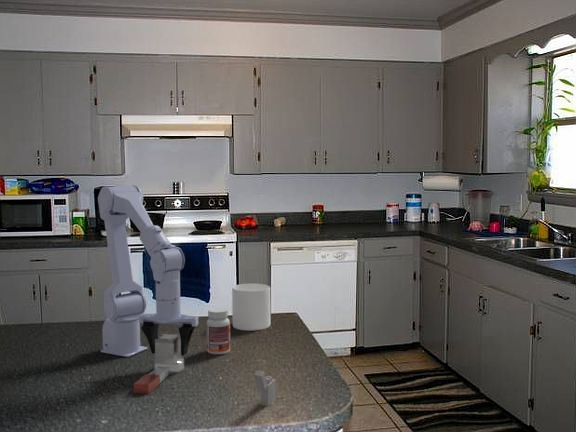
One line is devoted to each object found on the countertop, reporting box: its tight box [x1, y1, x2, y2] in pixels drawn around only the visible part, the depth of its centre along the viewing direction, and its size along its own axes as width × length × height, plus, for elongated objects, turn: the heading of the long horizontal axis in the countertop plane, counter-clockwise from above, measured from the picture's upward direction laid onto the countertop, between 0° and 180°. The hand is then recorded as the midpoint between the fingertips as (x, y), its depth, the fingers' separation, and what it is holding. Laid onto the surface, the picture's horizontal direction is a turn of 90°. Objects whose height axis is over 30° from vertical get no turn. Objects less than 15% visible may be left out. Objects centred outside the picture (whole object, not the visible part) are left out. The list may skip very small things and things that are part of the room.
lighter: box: [253, 369, 277, 407], centre depth 122 cm, size 7×2×8 cm, turn 157°
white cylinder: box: [231, 283, 271, 332], centre depth 182 cm, size 12×12×12 cm
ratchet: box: [133, 357, 185, 395], centre depth 138 cm, size 19×7×5 cm, turn 168°
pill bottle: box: [206, 307, 231, 355], centre depth 157 cm, size 6×6×11 cm
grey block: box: [154, 333, 183, 365], centre depth 143 cm, size 5×5×6 cm
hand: (169, 353), depth 143 cm, fingers open, 7 cm apart
